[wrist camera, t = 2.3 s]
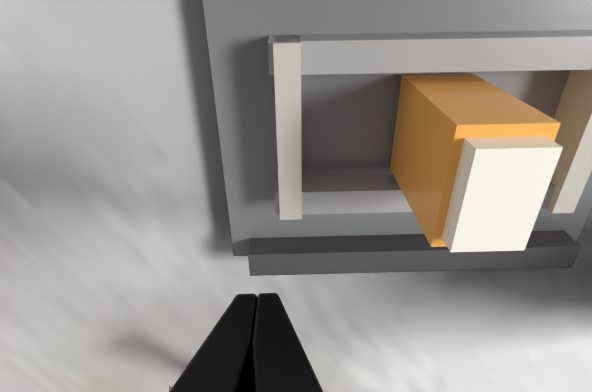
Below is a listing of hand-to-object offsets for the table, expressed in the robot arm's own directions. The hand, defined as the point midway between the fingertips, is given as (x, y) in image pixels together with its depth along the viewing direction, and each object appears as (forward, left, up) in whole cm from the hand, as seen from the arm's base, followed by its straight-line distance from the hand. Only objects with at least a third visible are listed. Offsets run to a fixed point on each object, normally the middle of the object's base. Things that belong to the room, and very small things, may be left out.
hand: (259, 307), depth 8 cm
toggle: (-7, 0, -11) cm, 13 cm away
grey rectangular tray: (-7, 0, -12) cm, 14 cm away
